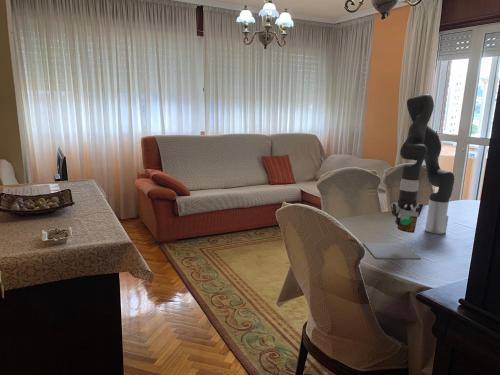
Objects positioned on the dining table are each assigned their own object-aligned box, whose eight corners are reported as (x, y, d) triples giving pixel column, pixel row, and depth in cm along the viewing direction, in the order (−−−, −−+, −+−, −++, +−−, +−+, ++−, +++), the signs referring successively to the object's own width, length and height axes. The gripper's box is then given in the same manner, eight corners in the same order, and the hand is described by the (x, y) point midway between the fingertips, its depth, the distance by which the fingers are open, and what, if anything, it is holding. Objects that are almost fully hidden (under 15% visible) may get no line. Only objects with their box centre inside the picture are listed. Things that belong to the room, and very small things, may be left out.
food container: (389, 224, 173) (392, 204, 171) (402, 224, 174) (405, 204, 172) (402, 234, 161) (405, 212, 159) (415, 234, 162) (419, 212, 160)
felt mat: (404, 244, 178) (404, 243, 178) (420, 259, 162) (421, 257, 162) (363, 243, 178) (363, 242, 178) (375, 258, 161) (375, 257, 161)
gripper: (420, 187, 167) (416, 222, 171) (389, 186, 167) (385, 222, 171) (429, 191, 160) (423, 228, 164) (396, 190, 159) (391, 227, 163)
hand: (404, 225), depth 167 cm, fingers closed on food container, 5 cm apart
